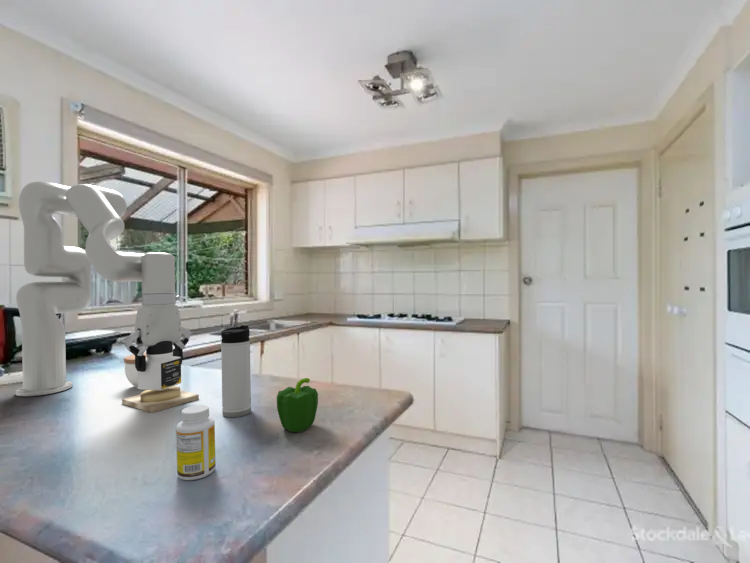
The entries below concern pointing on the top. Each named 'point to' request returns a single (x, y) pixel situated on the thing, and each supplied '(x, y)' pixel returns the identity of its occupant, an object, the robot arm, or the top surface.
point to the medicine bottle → (160, 368)
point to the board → (159, 404)
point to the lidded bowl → (131, 369)
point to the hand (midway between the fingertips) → (160, 367)
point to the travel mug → (236, 371)
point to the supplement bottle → (195, 443)
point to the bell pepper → (297, 406)
